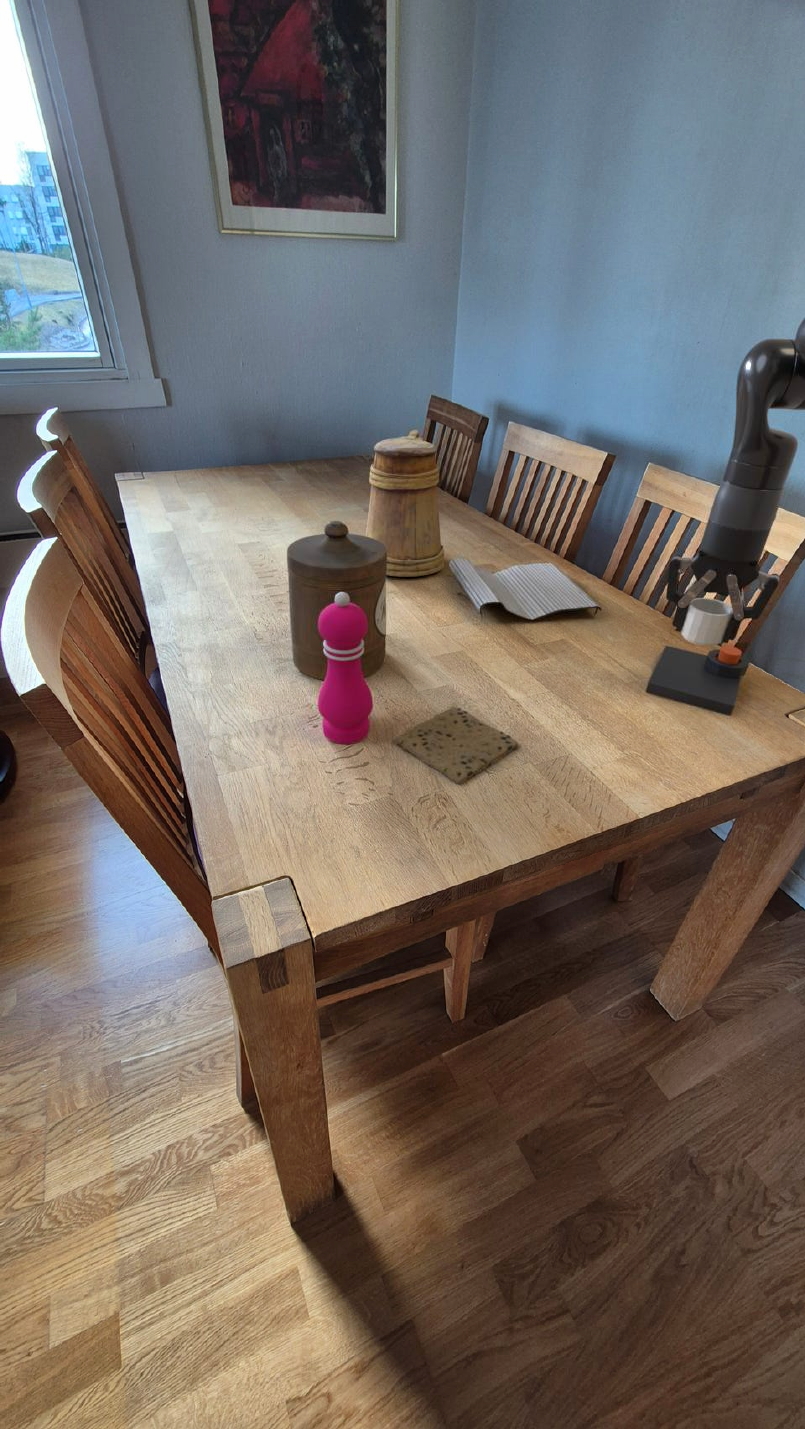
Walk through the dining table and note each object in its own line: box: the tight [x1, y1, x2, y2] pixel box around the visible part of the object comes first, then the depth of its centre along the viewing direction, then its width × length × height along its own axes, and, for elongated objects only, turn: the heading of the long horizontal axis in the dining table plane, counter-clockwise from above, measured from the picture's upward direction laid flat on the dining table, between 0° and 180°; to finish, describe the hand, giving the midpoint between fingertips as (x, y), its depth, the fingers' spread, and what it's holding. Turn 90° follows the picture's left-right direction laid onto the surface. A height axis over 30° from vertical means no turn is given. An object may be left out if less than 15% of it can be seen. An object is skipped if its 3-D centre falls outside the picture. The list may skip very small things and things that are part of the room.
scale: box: [645, 645, 750, 716], centre depth 96 cm, size 12×14×4 cm
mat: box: [448, 556, 603, 624], centre depth 122 cm, size 23×24×5 cm
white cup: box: [679, 597, 733, 647], centre depth 89 cm, size 6×6×5 cm
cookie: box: [393, 706, 519, 785], centre depth 82 cm, size 12×12×1 cm
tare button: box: [718, 645, 743, 664], centre depth 97 cm, size 3×3×2 cm
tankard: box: [365, 429, 445, 578], centre depth 131 cm, size 18×24×25 cm
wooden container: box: [286, 520, 387, 681], centre depth 95 cm, size 15×15×22 cm
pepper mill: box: [317, 592, 374, 745], centre depth 79 cm, size 7×7×20 cm
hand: (702, 634), depth 90 cm, fingers closed on white cup, 6 cm apart
